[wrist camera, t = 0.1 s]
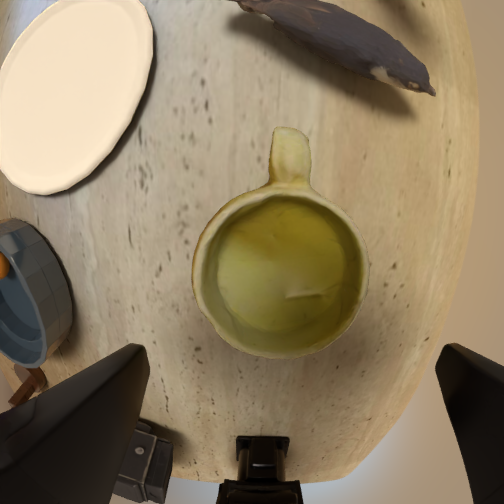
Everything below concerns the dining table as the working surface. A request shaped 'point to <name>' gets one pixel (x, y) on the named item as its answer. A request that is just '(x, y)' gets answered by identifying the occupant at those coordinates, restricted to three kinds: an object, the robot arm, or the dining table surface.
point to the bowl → (31, 297)
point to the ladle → (27, 384)
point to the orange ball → (4, 266)
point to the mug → (281, 262)
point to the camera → (145, 467)
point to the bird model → (345, 41)
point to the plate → (71, 90)
